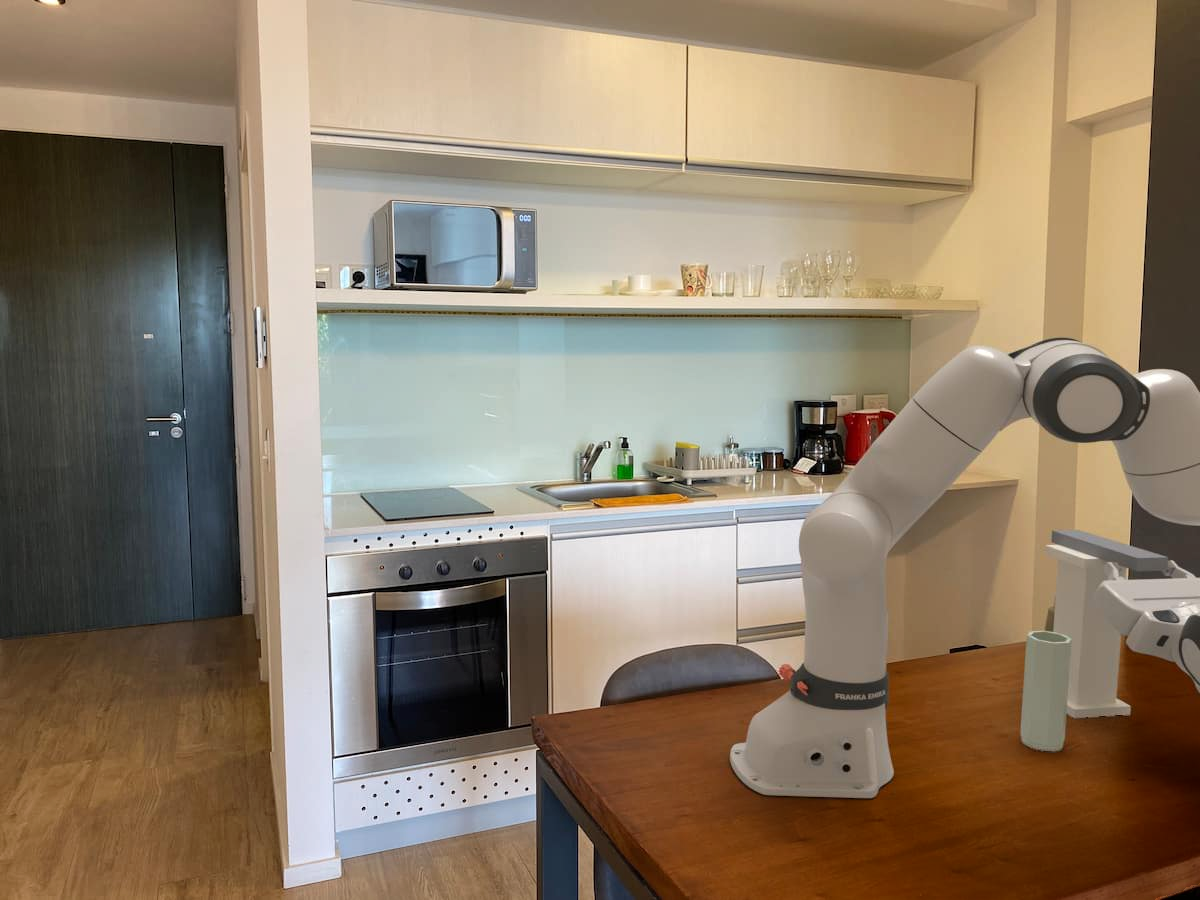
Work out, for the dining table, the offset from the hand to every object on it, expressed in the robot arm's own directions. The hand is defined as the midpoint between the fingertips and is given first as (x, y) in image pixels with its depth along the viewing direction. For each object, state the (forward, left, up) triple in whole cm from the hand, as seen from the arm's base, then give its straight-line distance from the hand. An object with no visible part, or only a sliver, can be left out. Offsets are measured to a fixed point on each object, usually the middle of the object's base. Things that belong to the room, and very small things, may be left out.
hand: (1137, 564), depth 139 cm
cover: (0, +7, 0) cm, 7 cm away
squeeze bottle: (+6, +23, -26) cm, 36 cm away
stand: (0, +10, -26) cm, 28 cm away
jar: (-16, -3, -26) cm, 31 cm away
